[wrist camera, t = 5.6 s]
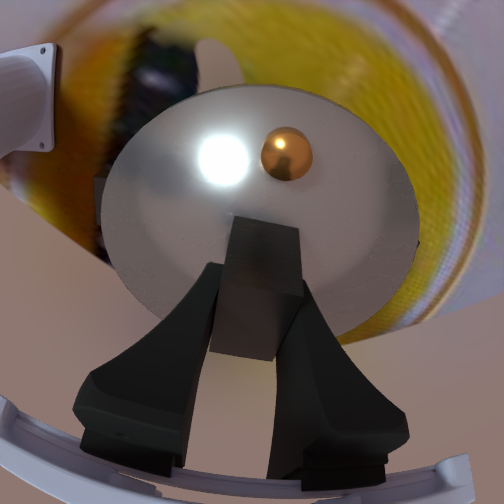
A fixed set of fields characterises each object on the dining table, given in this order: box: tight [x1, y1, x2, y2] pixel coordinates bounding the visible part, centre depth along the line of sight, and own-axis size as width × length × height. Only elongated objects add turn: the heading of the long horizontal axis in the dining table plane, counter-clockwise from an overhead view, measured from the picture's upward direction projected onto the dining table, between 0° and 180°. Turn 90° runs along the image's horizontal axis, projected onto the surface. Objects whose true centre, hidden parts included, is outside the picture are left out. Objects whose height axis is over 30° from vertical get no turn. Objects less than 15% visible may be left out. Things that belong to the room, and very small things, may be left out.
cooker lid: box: [101, 84, 419, 361], centre depth 12 cm, size 14×14×4 cm
